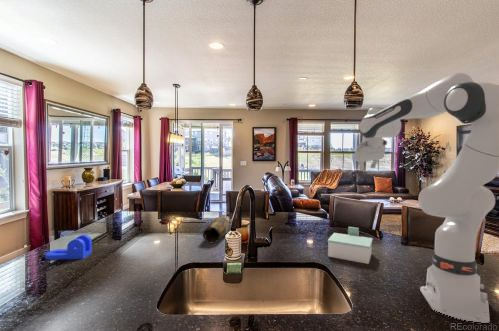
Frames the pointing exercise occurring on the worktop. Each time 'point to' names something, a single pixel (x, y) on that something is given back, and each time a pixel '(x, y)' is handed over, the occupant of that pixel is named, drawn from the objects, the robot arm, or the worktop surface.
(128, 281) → the worktop surface
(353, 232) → the lid
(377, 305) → the worktop surface
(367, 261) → the tub
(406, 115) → the robot arm
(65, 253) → the bracket
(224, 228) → the decorative bottle
